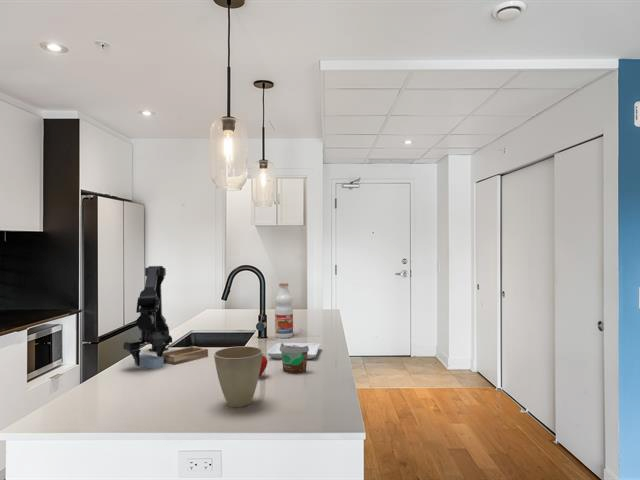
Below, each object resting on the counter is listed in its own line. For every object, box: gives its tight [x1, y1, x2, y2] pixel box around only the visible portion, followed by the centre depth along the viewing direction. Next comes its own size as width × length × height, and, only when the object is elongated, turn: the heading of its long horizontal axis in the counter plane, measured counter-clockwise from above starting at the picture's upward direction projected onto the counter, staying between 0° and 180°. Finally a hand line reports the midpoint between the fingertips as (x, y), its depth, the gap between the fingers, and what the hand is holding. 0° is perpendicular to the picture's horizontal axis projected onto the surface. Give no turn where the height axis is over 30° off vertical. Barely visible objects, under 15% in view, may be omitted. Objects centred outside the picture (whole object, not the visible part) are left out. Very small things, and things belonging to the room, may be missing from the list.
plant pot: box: [213, 345, 264, 408], centre depth 142 cm, size 15×15×16 cm
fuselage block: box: [133, 353, 164, 370], centre depth 187 cm, size 12×4×4 cm, turn 60°
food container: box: [280, 342, 309, 375], centre depth 175 cm, size 12×6×10 cm, turn 62°
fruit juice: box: [274, 282, 294, 339], centre depth 241 cm, size 9×9×28 cm
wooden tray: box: [162, 345, 209, 366], centre depth 198 cm, size 10×17×3 cm, turn 141°
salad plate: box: [266, 342, 322, 360], centre depth 202 cm, size 21×21×3 cm
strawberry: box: [259, 353, 268, 378], centre depth 169 cm, size 6×8×10 cm
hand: (148, 363), depth 187 cm, fingers open, 9 cm apart
